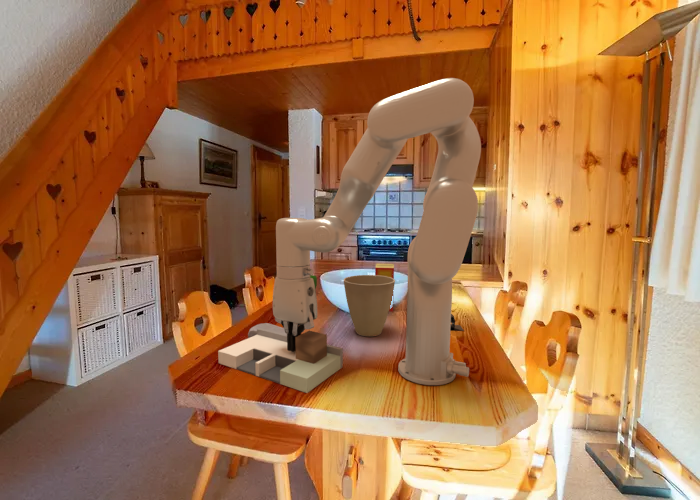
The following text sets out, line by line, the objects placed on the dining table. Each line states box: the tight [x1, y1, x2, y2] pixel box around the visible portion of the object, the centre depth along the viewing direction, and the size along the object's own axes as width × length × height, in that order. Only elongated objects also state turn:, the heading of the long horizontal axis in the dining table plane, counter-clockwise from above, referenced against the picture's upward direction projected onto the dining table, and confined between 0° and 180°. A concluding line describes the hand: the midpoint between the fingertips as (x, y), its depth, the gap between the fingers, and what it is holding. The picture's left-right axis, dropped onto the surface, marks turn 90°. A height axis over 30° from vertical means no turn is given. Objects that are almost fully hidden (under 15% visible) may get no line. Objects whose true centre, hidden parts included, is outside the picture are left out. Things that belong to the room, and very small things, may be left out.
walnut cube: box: [295, 330, 328, 364], centre depth 80 cm, size 5×5×5 cm
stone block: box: [247, 322, 287, 339], centre depth 98 cm, size 12×5×10 cm
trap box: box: [217, 328, 344, 394], centre depth 82 cm, size 26×14×4 cm, turn 60°
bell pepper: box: [310, 274, 318, 290], centre depth 149 cm, size 8×8×10 cm
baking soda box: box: [374, 263, 395, 313], centre depth 129 cm, size 10×6×16 cm
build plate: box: [450, 313, 465, 332], centre depth 109 cm, size 12×7×5 cm, turn 87°
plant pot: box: [343, 274, 396, 337], centre depth 104 cm, size 15×15×16 cm
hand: (294, 349), depth 83 cm, fingers closed
